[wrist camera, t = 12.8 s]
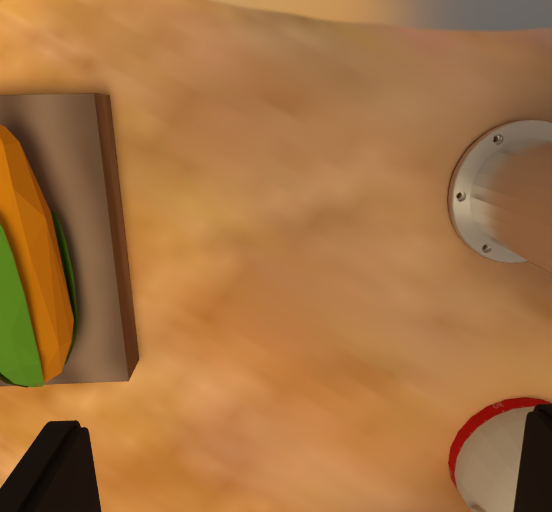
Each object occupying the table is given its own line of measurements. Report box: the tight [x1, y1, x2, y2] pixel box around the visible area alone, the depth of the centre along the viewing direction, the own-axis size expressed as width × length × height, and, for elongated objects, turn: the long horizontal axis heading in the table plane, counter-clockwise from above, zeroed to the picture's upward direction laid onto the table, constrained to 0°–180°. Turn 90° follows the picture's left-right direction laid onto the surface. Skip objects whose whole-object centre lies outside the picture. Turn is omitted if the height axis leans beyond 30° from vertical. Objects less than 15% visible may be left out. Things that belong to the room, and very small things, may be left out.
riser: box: [0, 93, 139, 386], centre depth 41 cm, size 12×24×4 cm, turn 1°
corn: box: [0, 125, 78, 387], centre depth 36 cm, size 7×8×20 cm
